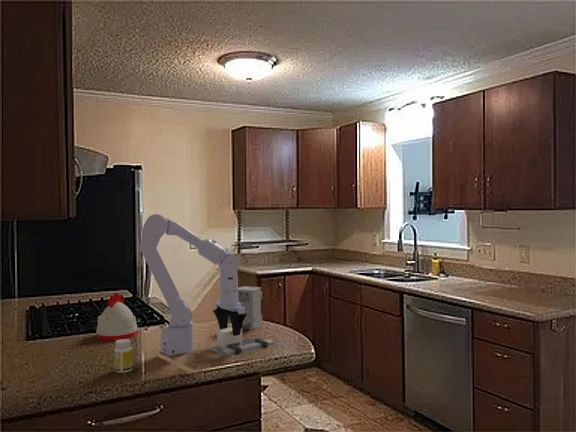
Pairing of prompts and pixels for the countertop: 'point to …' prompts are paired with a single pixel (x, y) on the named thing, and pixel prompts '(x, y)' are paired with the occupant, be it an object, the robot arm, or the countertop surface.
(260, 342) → the rail board
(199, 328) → the countertop surface
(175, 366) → the countertop surface
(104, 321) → the kitchen timer
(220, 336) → the block
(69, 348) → the countertop surface
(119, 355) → the supplement bottle
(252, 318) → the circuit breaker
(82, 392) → the countertop surface
